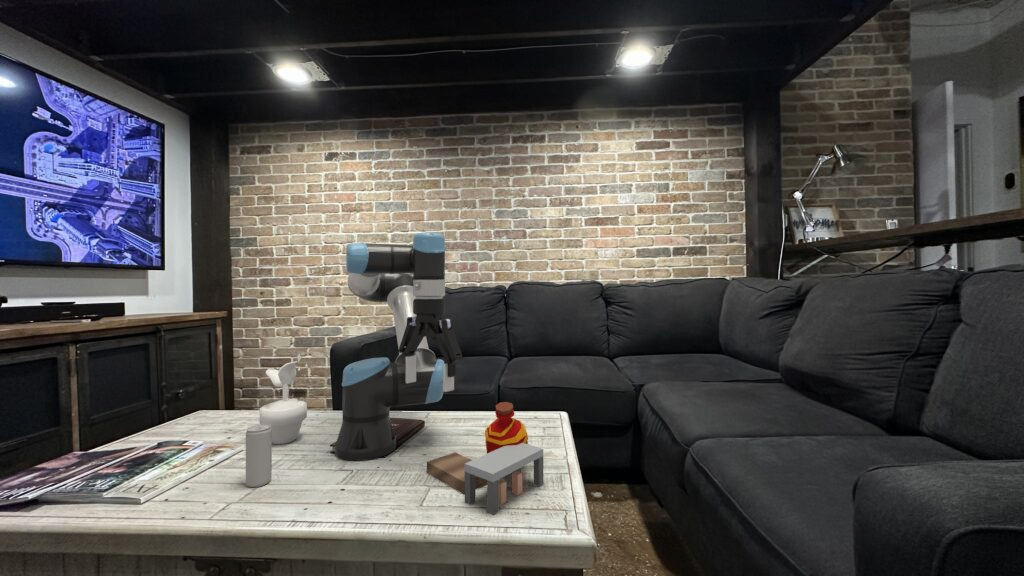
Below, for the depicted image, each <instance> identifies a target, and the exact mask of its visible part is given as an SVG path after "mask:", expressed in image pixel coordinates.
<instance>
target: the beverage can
mask: <svg viewBox="0 0 1024 576" xmlns="http://www.w3.org/2000/svg"><path fill="white" fill-rule="evenodd" d="M270 427H271V425H269V424H260V423H259V424H255V425H251V426H249V427H247V428H246V432H245V485H246V486H247V487H249V488H259V487H262V486H265V485H267V484H268V483H270V481H271V480H272V474H273V473H272V467H273V466H272V463H273V462H272V460H273V459H272V458H273V457H272V453H273V451H272V450H273V449H272V446H273V445H272V444H273V443H272V429H271V428H270Z"/></svg>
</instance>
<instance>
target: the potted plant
mask: <svg viewBox="0 0 1024 576" xmlns="http://www.w3.org/2000/svg"><path fill="white" fill-rule="evenodd" d="M295 357H296V359H297V360H295V361H292V362H287V363H285V364H284V365H282V366H281V367H280V368H279V369H274V368H267V370H266V371H265V373H264V374H266V376H267V377H268V378H269V379H270V381H271V383H272V384H273V386H275V387H277V388H281V387H282V388H281V389H282V398H281V399H280V398H279V399H278V400H276V401H273V402H269V403H267V404H264V405H262V406H261V407H259V425H260V424H269V425H271V427H270V428H271V429H272V444H273V445H286V444H289V443H292V442H293V441H295V440H296V439H297V438H298V435H299V434H300V430H301V428H302V424H303V422H304V421H305V420H306V419H307V417H308V413H307V412H308V407H307V406H308V403H307V402H306V401H304V400H298V398H289V395H290V393H289V392H290V387H289V385H291V384H293V382H294V381H295V379H296V377H297V374H298V373H297V371H298V372H300V370H302V369H301V367H300V366H298V368H296V364H297V363H300V360H301V359H302V358H303V357H302V356H301V354H300V352H298V355H296V356H295ZM304 367H305V369H307V368H308V367H309V365H308V364H307V362H306V364H305V365H304Z"/></svg>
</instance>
